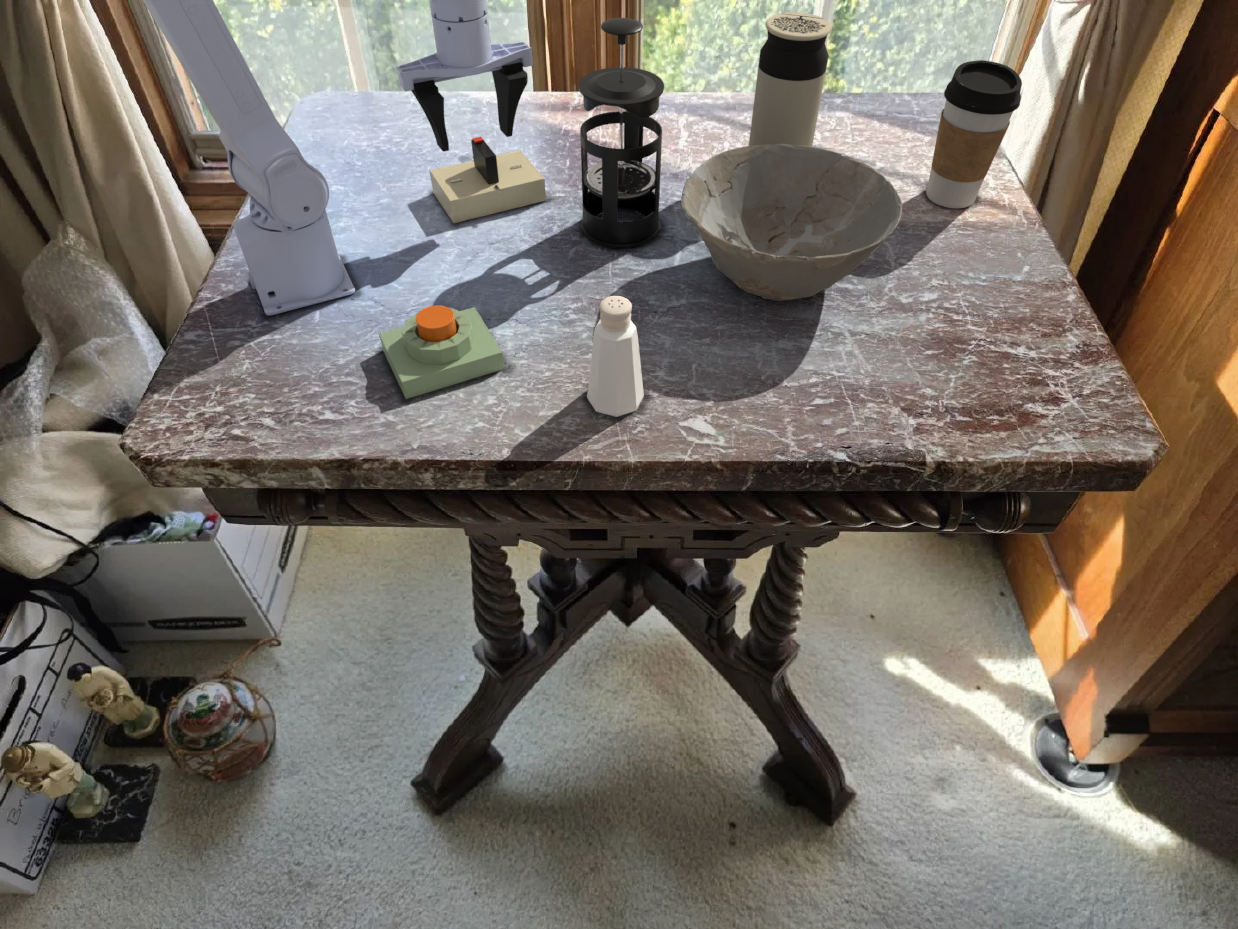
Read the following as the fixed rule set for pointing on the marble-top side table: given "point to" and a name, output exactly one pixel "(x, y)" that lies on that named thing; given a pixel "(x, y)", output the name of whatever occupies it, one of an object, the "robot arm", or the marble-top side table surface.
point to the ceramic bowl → (789, 216)
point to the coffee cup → (971, 130)
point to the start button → (436, 323)
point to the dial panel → (487, 187)
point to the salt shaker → (615, 360)
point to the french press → (621, 150)
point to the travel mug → (790, 80)
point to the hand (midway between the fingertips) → (475, 140)
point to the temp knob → (485, 160)
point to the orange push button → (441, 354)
